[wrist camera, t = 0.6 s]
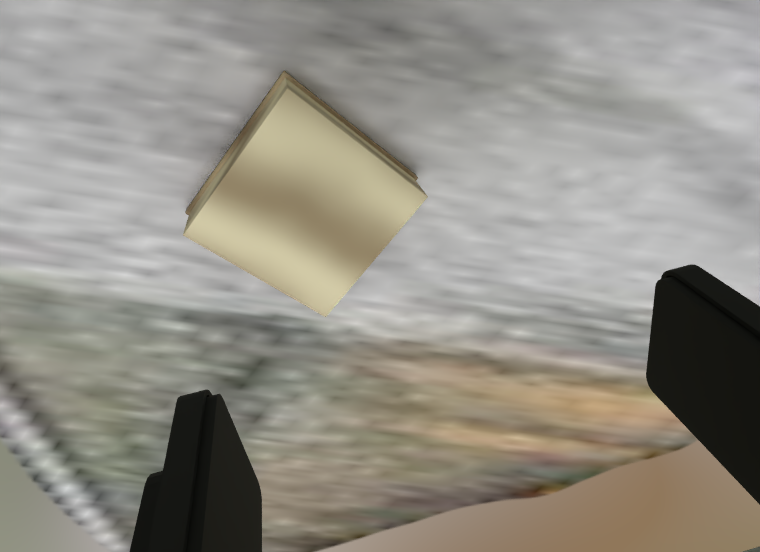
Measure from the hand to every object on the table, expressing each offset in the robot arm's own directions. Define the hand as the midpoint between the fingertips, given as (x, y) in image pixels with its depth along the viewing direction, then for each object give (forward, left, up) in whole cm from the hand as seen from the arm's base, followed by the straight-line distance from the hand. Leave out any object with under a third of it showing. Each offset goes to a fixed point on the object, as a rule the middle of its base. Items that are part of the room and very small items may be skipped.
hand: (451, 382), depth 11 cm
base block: (+5, +2, -25) cm, 25 cm away
